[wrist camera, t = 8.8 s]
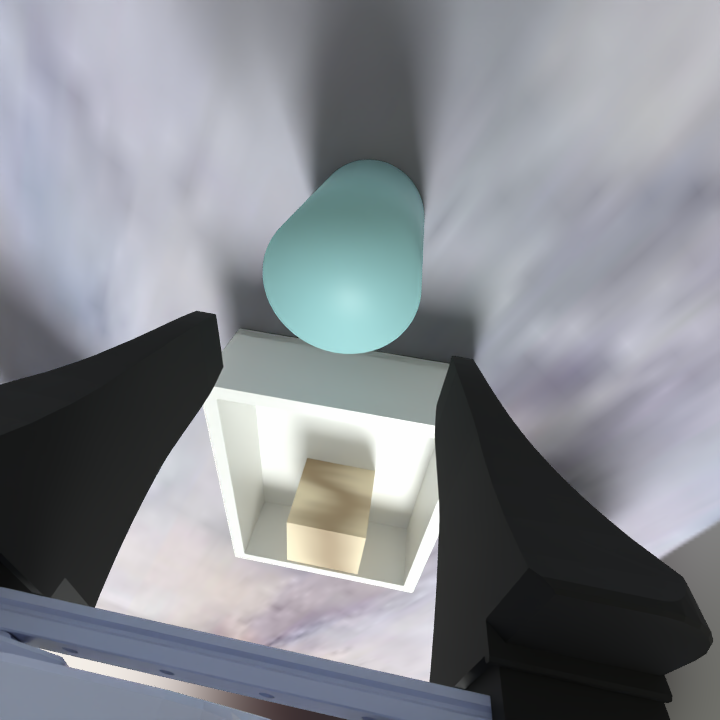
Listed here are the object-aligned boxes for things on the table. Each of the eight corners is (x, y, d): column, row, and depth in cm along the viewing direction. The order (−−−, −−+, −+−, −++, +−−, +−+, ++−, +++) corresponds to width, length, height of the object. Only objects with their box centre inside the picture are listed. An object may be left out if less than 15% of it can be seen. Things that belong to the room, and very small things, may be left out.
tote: (258, 498, 33) (235, 556, 29) (239, 328, 22) (198, 383, 18) (414, 528, 32) (412, 592, 28) (473, 367, 21) (483, 434, 17)
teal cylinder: (314, 263, 19) (266, 340, 14) (317, 151, 16) (257, 193, 10) (413, 279, 19) (405, 364, 13) (435, 168, 16) (438, 219, 10)
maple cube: (305, 496, 31) (287, 559, 27) (307, 457, 28) (286, 522, 24) (366, 509, 30) (357, 574, 26) (375, 471, 27) (366, 538, 23)
